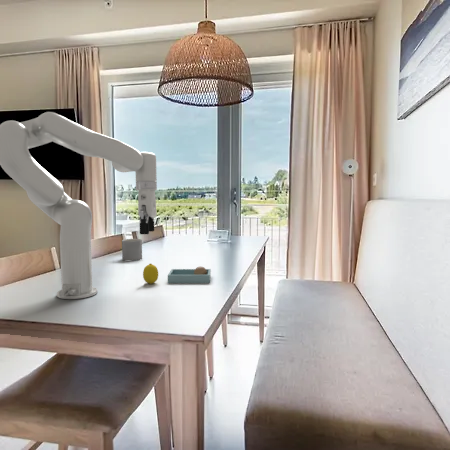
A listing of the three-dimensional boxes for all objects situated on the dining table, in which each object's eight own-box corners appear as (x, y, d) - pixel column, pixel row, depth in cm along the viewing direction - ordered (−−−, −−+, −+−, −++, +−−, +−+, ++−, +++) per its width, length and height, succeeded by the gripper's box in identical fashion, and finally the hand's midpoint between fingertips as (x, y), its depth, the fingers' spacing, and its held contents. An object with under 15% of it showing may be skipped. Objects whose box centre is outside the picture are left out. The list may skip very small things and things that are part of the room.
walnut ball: (206, 280, 140) (206, 267, 139) (193, 280, 140) (193, 267, 139) (207, 277, 145) (207, 265, 144) (194, 277, 145) (194, 265, 144)
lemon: (151, 282, 140) (151, 261, 139) (161, 284, 137) (161, 263, 136) (140, 285, 136) (139, 263, 135) (149, 287, 132) (149, 265, 132)
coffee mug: (139, 260, 185) (138, 241, 184) (119, 260, 185) (119, 241, 185) (146, 256, 198) (145, 238, 197) (127, 256, 199) (127, 237, 198)
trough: (209, 284, 137) (209, 275, 136) (167, 284, 137) (167, 275, 136) (210, 277, 148) (210, 269, 148) (171, 277, 148) (171, 269, 147)
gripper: (151, 186, 127) (152, 235, 128) (160, 186, 144) (161, 230, 146) (130, 186, 127) (131, 235, 128) (141, 186, 144) (142, 230, 146)
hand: (147, 232), depth 137 cm, fingers open, 9 cm apart
